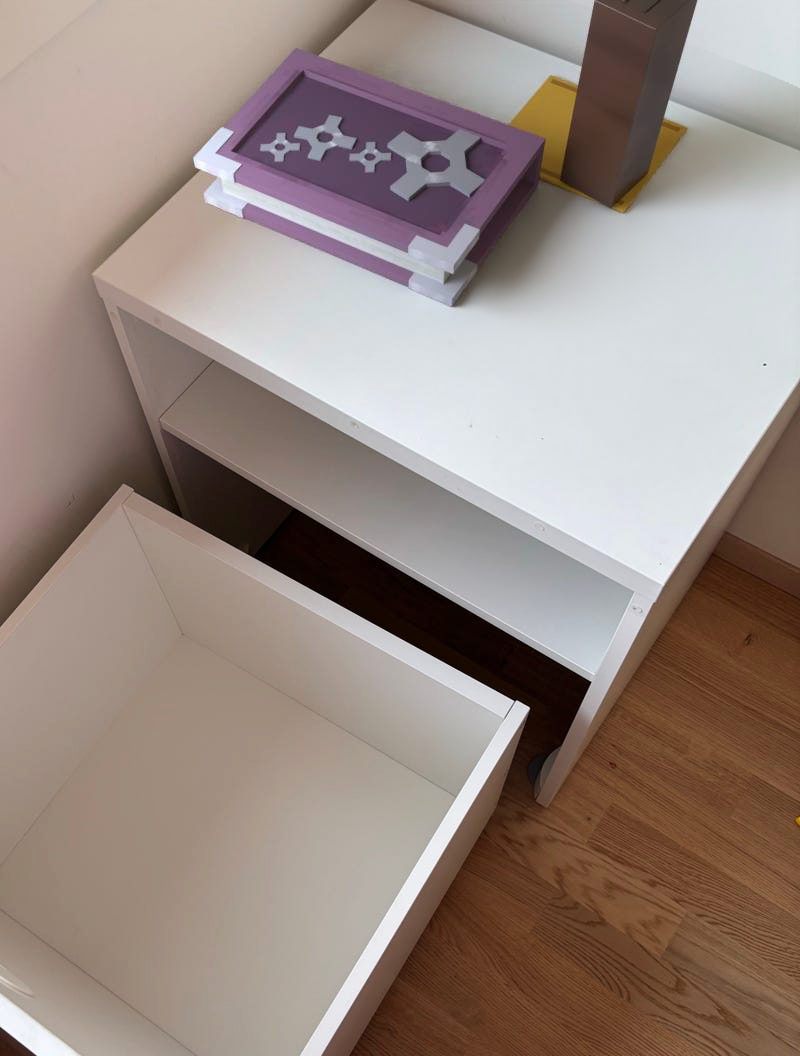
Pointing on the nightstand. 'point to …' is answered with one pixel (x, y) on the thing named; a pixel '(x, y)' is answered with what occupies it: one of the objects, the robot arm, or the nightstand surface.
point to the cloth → (552, 121)
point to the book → (373, 173)
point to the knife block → (623, 93)
